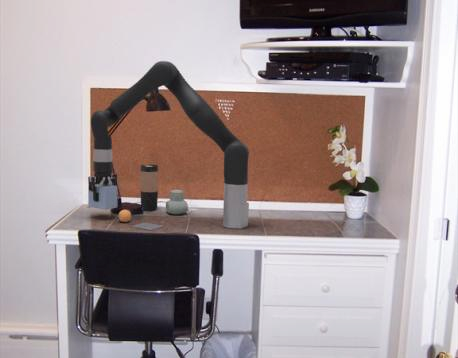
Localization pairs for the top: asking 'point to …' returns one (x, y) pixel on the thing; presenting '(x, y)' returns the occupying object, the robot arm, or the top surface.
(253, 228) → the top surface
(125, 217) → the ball
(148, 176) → the travel mug
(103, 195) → the blue-grey block
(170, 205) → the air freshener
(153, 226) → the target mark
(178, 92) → the robot arm
